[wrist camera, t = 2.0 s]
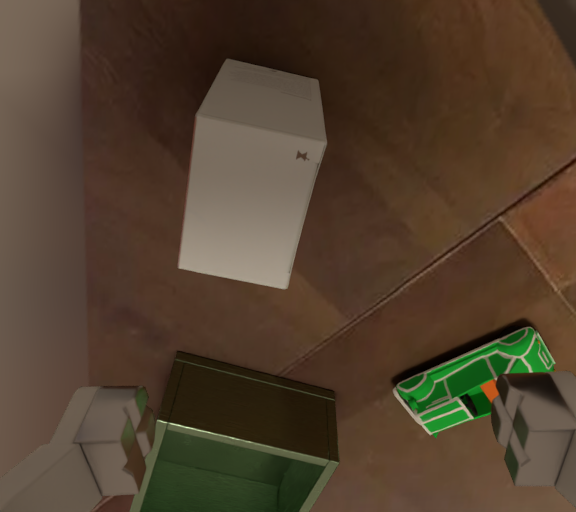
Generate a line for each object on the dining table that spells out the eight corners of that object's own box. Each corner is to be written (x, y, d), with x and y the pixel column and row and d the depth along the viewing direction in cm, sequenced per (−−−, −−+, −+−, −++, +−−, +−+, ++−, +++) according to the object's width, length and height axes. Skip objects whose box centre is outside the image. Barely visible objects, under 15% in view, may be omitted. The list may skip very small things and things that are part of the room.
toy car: (415, 413, 45) (426, 456, 41) (387, 377, 42) (395, 419, 39) (551, 356, 41) (576, 398, 37) (527, 314, 39) (551, 354, 35)
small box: (226, 55, 29) (193, 108, 20) (320, 78, 30) (330, 139, 21) (207, 181, 33) (173, 271, 24) (290, 199, 34) (287, 293, 25)
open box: (147, 452, 48) (125, 524, 42) (177, 350, 41) (156, 420, 35) (283, 483, 50) (281, 556, 44) (334, 391, 43) (340, 463, 37)
